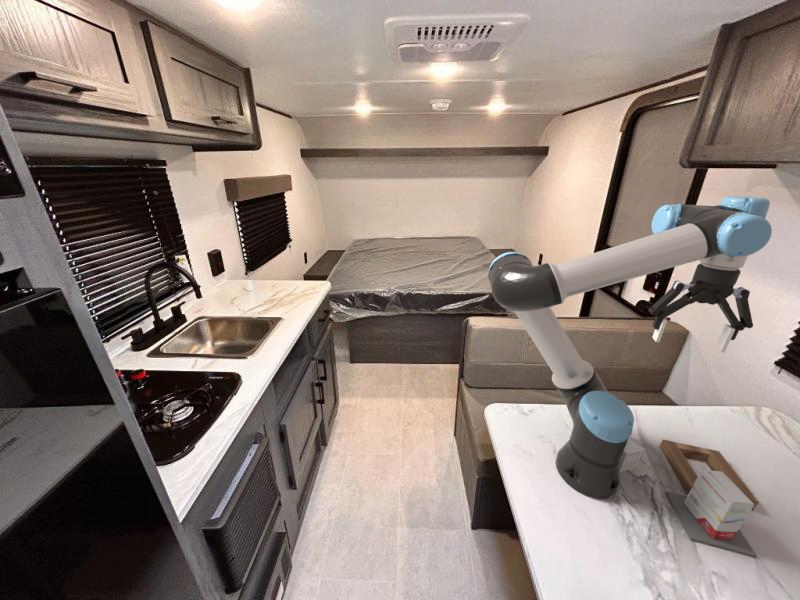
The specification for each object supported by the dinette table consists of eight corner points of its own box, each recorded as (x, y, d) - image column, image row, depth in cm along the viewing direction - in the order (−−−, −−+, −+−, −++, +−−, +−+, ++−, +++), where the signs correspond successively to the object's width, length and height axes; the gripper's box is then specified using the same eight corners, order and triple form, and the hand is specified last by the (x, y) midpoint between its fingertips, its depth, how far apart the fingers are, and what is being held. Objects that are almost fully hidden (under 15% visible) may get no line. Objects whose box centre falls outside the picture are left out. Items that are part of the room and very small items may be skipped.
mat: (690, 540, 72) (691, 538, 72) (665, 492, 83) (666, 490, 82) (755, 557, 69) (757, 556, 69) (721, 506, 80) (722, 504, 79)
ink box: (733, 540, 72) (757, 505, 67) (710, 538, 72) (733, 503, 67) (702, 503, 79) (722, 470, 75) (682, 502, 80) (700, 468, 75)
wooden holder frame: (686, 494, 82) (690, 486, 81) (659, 446, 97) (662, 439, 95) (753, 510, 79) (758, 502, 78) (714, 458, 93) (719, 451, 92)
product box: (618, 473, 88) (626, 453, 85) (600, 455, 93) (607, 436, 90) (635, 468, 89) (644, 449, 86) (617, 451, 95) (624, 432, 92)
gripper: (661, 264, 75) (635, 342, 83) (802, 277, 67) (758, 362, 75) (650, 256, 81) (627, 330, 90) (778, 267, 74) (739, 346, 82)
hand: (686, 344), depth 82 cm, fingers open, 13 cm apart
